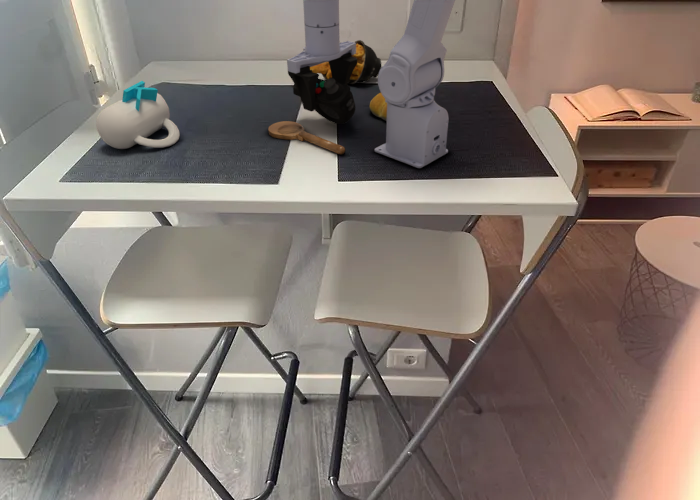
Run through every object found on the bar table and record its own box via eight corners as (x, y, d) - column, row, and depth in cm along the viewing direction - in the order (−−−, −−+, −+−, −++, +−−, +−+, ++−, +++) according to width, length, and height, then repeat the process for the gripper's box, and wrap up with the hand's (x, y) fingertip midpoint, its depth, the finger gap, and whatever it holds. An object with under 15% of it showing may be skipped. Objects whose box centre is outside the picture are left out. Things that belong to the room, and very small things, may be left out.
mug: (89, 94, 88) (138, 71, 97) (86, 141, 94) (132, 115, 103) (154, 132, 88) (197, 105, 97) (146, 176, 93) (187, 147, 103)
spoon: (356, 149, 94) (356, 141, 94) (331, 161, 91) (331, 153, 90) (286, 122, 104) (286, 115, 103) (261, 132, 100) (260, 125, 100)
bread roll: (395, 127, 102) (396, 105, 99) (362, 113, 107) (362, 92, 105) (427, 115, 106) (429, 94, 104) (394, 102, 112) (394, 82, 109)
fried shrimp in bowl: (393, 64, 116) (314, 45, 108) (369, 105, 124) (294, 90, 115) (381, 36, 121) (304, 16, 112) (358, 77, 129) (285, 61, 120)
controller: (355, 134, 100) (334, 96, 92) (305, 117, 107) (281, 80, 98) (369, 116, 101) (348, 76, 93) (318, 100, 108) (295, 61, 99)
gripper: (335, 11, 99) (336, 87, 107) (272, 27, 91) (278, 109, 99) (365, 18, 96) (364, 96, 103) (302, 35, 87) (306, 119, 95)
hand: (324, 103), depth 101 cm, fingers open, 7 cm apart
